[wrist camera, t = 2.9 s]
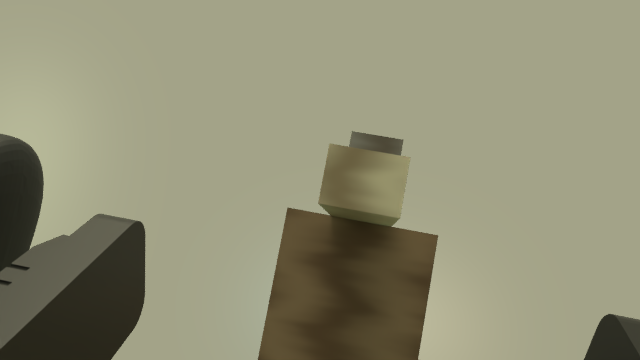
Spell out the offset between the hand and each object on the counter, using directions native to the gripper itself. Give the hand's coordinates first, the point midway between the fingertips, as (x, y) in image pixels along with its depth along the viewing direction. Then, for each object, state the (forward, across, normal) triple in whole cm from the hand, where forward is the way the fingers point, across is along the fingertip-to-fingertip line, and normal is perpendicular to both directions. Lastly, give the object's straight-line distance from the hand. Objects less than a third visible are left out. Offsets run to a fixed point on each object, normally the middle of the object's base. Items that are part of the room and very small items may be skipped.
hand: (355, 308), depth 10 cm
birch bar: (+24, 0, +10) cm, 27 cm away
